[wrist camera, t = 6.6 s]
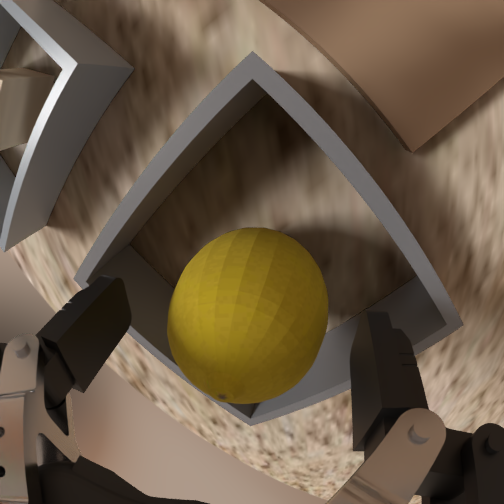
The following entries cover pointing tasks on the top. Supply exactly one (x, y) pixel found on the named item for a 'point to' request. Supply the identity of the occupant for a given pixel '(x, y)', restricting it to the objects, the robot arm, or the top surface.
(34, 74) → the birch block
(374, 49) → the walnut board
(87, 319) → the robot arm
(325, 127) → the charcoal bin
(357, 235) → the top surface
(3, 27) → the slate-blue bin
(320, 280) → the lemon
